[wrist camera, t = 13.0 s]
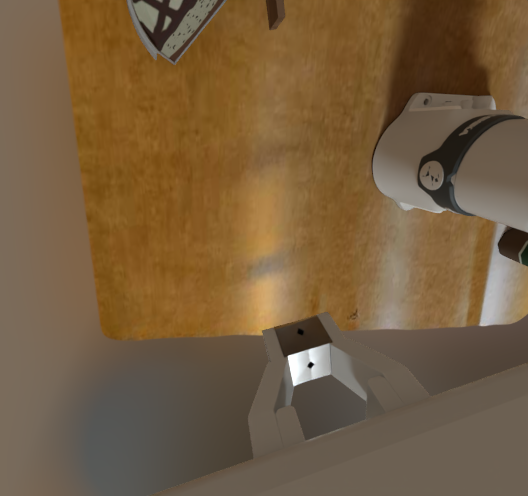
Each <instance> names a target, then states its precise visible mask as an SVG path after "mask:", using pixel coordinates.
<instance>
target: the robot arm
mask: <svg viewBox="0 0 528 496" xmlns="http://www.w3.org/2000/svg"><path fill="white" fill-rule="evenodd" d="M424 100H425V104H424ZM373 177H374V181H375V183H376V185H377V187H378V188H379V190H380V191H381V192H382V193H383V194H385V195H386V196H388V197H390V198H392V199H394V200H395V201H396V203H397V205H398V206H399V207H400V208H401V209H403V210H410V209H412V208H415V207H417V208H420V209H424V210H427V211H431V212H435V213H441V212H442V211H445V210H448V211H451V212H454V213H457V214H463V215H467V216H480V217H483V218H486V219H489V220H492V221H495V222H498V223H501V224H504V225H507V226H510V227H513V228H516V229H519V230H522V231H525V232H528V119H525V118H524V117H521V116H516V115H513V113H512V112H511V111H510V110H496V105H495V101H494V99H493V98H492V96H469V95H453V94H437V93H415V94H414V95H413V96H412V97H411V98H410V100H409V101H408V103H407V105H406V106H405V108H404V110H403V112H402V113H401V115H400V116H399V117H398V118H397V119H396V120H395V121H394V122H393V123H392V124H391V125H390V126H389V127H388V128H387V129H386V131H385V132H384V134H383V135H382V137H381V139H380V140H379V142H378V145H377V147H376V150H375V154H374V158H373ZM262 333H263V337H264V341H265V345H266V350H267V354H268V358H269V363H267V366H266V369H265V372H264V374H263V377H262V380H261V383H260V385H259V388H258V391H257V394H256V397H255V399H254V402H253V405H252V408H251V411H250V413H249V416H248V421H249V428H250V436H251V442H252V449H253V456H254V459H252V460H250V461H247V462H244V463H241V464H238V465H235V466H232V467H229V468H227V469H224V470H221V471H218V472H215V473H213V474H209V475H207V476H204V477H201V478H198V479H195V480H192V481H190V482H187V483H184V484H181V485H178V486H175V487H172V488H170V489H167V490H164V491H161V492H158V493H155V494H152V495H150V496H528V363H526V364H523V365H520V366H517V367H514V368H512V369H509V370H506V371H503V372H500V373H497V374H494V375H492V376H489V377H486V378H483V379H480V380H477V381H475V382H472V383H469V384H466V385H463V386H460V387H457V388H455V389H452V390H449V391H446V392H444V393H441V394H437V395H435V396H432V397H431V396H430V395H429V394H428V393H427V391H426V390H425V389H424V388H423V387H422V385H421V384H420V383H419V382H418V381H417V379H416V378H415V377H414V376H413V375H412V374H411V372H410V371H409V370H408V369H407V368H406V366H404V365H402V364H400V363H398V362H396V361H394V360H392V359H390V358H388V357H386V356H384V355H382V354H380V353H378V352H376V351H374V350H372V349H370V348H368V347H366V346H364V345H362V344H360V343H358V342H356V341H354V340H352V339H350V338H347V339H346V338H345V337H344V335H343V334H342V332H341V331H340V329H339V328H338V326H337V325H336V323H335V322H334V320H333V319H332V317H331V316H330V314H329V313H328V312H324V313H321V314H318V315H314V316H311V317H308V318H304V319H301V320H298V321H295V322H292V323H288V324H284V325H280V326H276V327H274V328H270V329H266V330H262ZM329 374H332V375H333V376H334V377H335V378H337V379H338V380H339V381H341V382H342V383H343V384H345V385H346V386H347V387H348V388H350V389H351V390H352V391H354V392H355V393H356V394H358V395H359V396H360V397H361V398H363V399H364V400H365V401H367V404H366V420H363V421H361V422H357V423H355V424H352V425H349V426H346V427H344V428H341V429H338V430H335V431H332V432H329V433H327V434H324V435H321V436H318V437H315V438H312V439H309V440H307V441H305V438H304V435H303V432H302V429H301V426H300V423H299V420H298V417H297V414H296V411H295V408H294V407H292V406H290V404H291V399H292V394H293V389H294V386H295V385H298V384H301V383H304V382H306V381H309V380H312V379H316V378H319V377H322V376H325V375H329Z"/></svg>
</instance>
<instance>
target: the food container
mask: <svg viewBox="0 0 528 496" xmlns="http://www.w3.org/2000/svg"><path fill="white" fill-rule="evenodd" d="M225 2H226V0H127V5H128V9H129V13H130V16H131V19H132V21H133V24H134V27H135V29H136V31H137V33H138V35H139V37H140V39H141V41H142V42H143V44H144V45H145V47H146V48H147V50H148V51H149V53H150V54H151V55H152V56H153V57H154V59H155V60H156V59H157V53H159V54H160V55H161V56H163V57H164V58H165V59H167V60H168V61H170V62H171V63H172V64H174V65H175V64H176V62H177V61H178V60H179V59H180V57H181V56H182V55H183V54H184V52H185V51H186V50H187V49H188V48H189V46H190V45H191V44H192V43H193V41H194V40H195V39H196V38H197V36H198V35H199V34H200V33H201V31H202V30H203V29H204V28H205V26H206V25H207V24H208V23H209V21H210V20H211V19H212V18H213V17H214V15H215V14H216V13H217V12H218V10H219V9H220V8H221V7H222V5H223V4H224V3H225Z"/></svg>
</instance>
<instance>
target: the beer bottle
mask: <svg viewBox="0 0 528 496" xmlns="http://www.w3.org/2000/svg"><path fill="white" fill-rule="evenodd" d="M498 248H499V252H500V254H502V255H504V256H506V257H508V258H510V259H512V260H514V261H517V262H519V263H521V264H523V265H526V266H528V232H525V231H522V230H519V229H516V228H512V229H510V230H509V231H507V232H506V233H505V234H504V235H503V237H502V239H501V240H500V242H499V244H498Z"/></svg>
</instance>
